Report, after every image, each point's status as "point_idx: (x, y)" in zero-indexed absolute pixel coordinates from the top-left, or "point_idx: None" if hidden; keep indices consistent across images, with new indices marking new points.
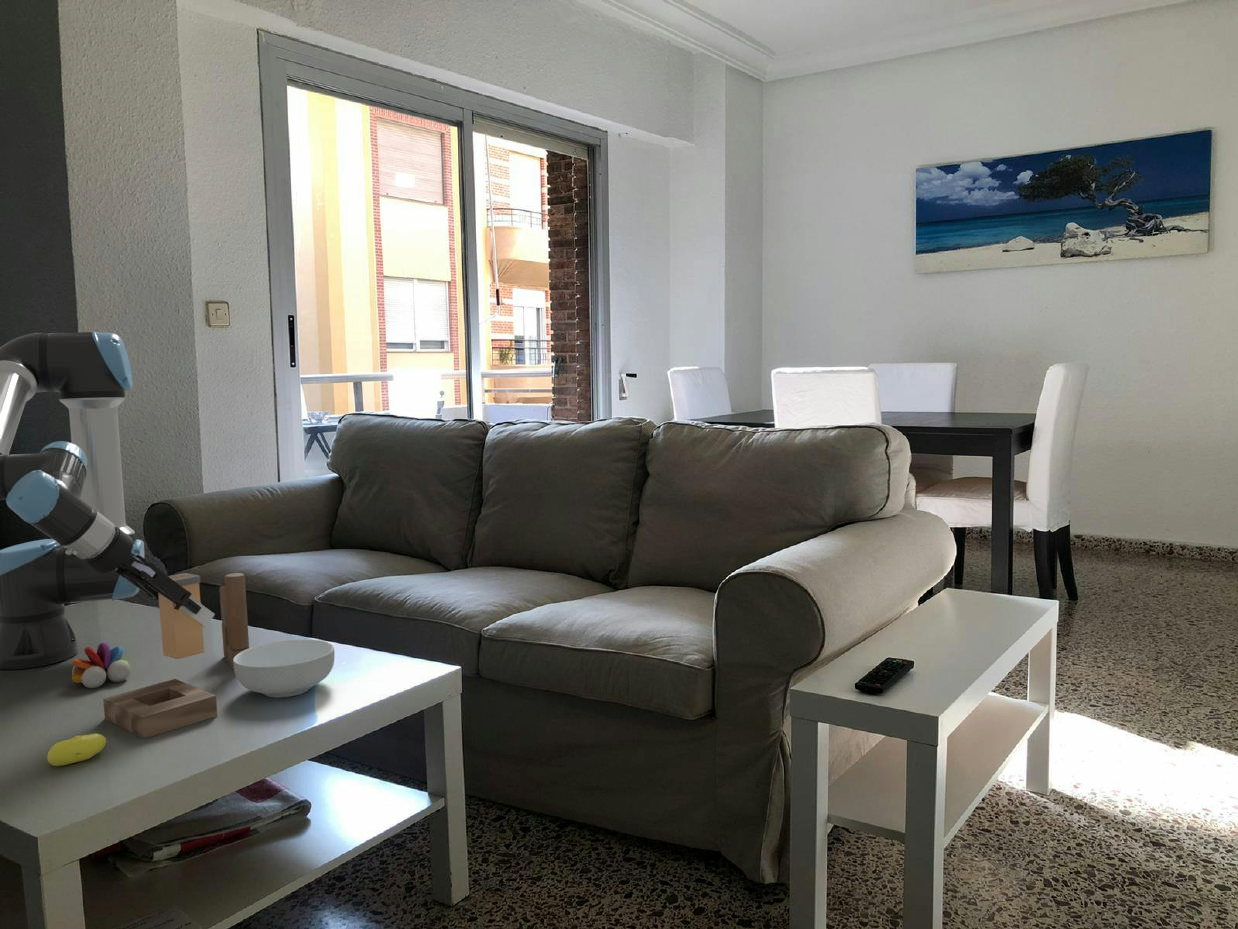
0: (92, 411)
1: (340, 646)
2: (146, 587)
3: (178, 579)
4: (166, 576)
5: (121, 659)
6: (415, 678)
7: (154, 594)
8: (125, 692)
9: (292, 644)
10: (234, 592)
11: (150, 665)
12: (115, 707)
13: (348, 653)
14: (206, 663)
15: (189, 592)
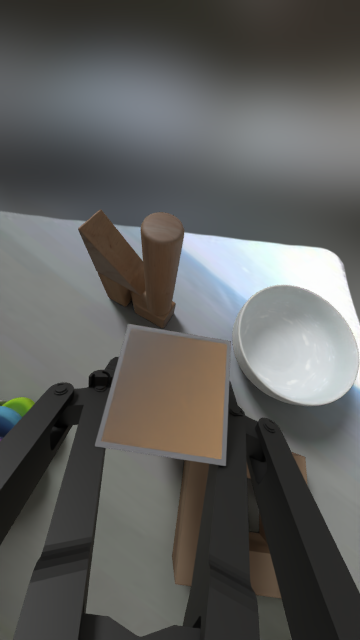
0: None
1: (200, 236)
2: (99, 494)
3: (217, 418)
4: (356, 595)
5: (11, 404)
6: (333, 279)
7: None
8: (182, 533)
9: (255, 299)
10: (175, 264)
11: (36, 358)
12: None
13: (225, 249)
14: (108, 323)
15: (280, 432)
